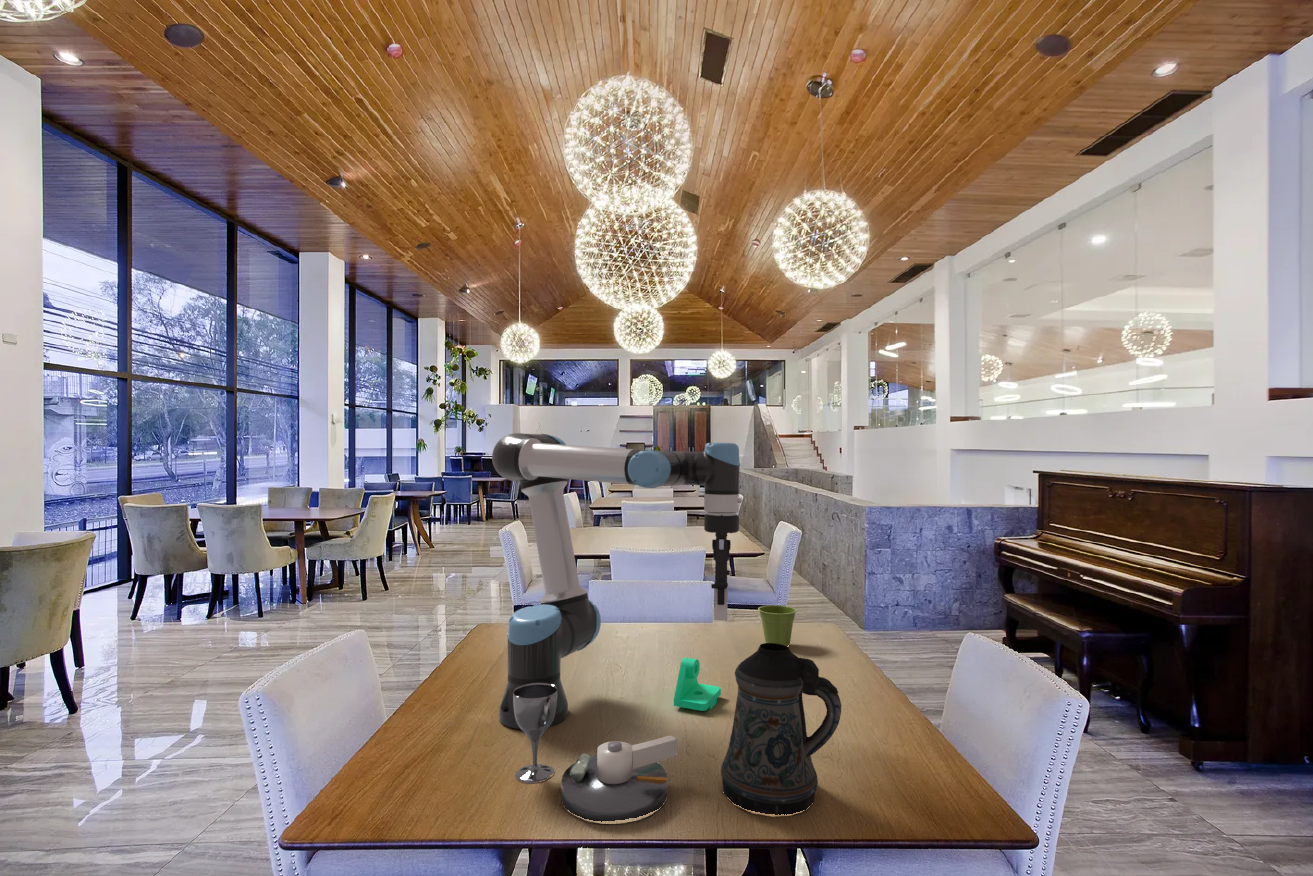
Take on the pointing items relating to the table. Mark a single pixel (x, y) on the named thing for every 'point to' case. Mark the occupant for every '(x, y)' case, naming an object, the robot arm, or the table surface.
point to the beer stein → (776, 732)
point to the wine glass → (534, 723)
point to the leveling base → (612, 791)
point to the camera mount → (694, 688)
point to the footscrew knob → (631, 757)
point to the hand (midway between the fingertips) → (720, 612)
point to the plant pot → (777, 623)
